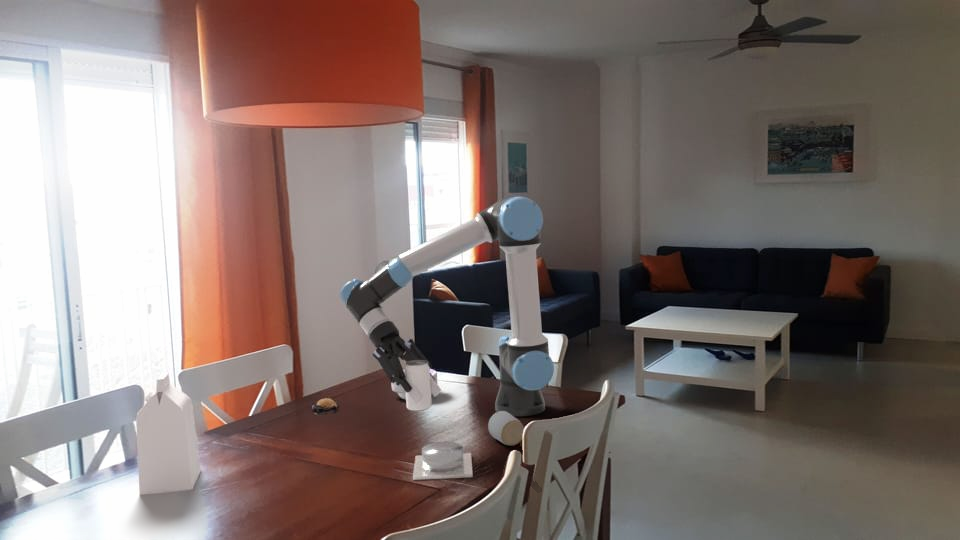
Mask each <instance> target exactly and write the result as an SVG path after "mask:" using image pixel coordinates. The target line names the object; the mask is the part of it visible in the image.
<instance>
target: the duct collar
mask: <svg viewBox="0 0 960 540" xmlns="http://www.w3.org/2000/svg"><path fill="white" fill-rule="evenodd" d="M412 472H413V474H412V481H421V480H425V481H426V480H442V479H462V478H464V479H465V478H473V463H472V453H471V452H468V453H467V452H465V453H464V446H463V445H462V444H460V443H458V442H455V441H436V442H432V443H429V444H426V445H424V446H423V447H422V448H421V455H415V458H414V465H413V471H412Z"/></svg>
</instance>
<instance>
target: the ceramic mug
mask: <svg viewBox="0 0 960 540" xmlns="http://www.w3.org/2000/svg"><path fill="white" fill-rule="evenodd" d="M487 428H488V429H487V430H488V432H489V435H490V436H491V437H492V438H494V439H496V440H497V441H499V442H500V443H502V444H503V445H505V446H509V447H513V446H516V445H518V444H519V443H521V441H522V440H523V439H522V433H523V429H524V430H525V426H524V424H523V423H522V422H521V421H520V420H519V419H518V418H517V417H516V416H512V415H511V414H509V413H508V412H506V411H499V412H496V411H495V413H494V414H492V416H491V417H490V418H489V420H488V425H487Z"/></svg>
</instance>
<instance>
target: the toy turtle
mask: <svg viewBox="0 0 960 540" xmlns="http://www.w3.org/2000/svg"><path fill="white" fill-rule="evenodd" d="M339 410H340V409H339V403H338V402H337V401H334V400H333V399H332V398H329V397H328V398H327V397H326V398H321V399H320V400H318V401H316V402H315V401H314V403H313V404H312V407H311V411H312V413H313V414H314V415H317V416H318V415H326V414H327V415H329V414H334V413H335V414H336V413H339Z"/></svg>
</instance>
